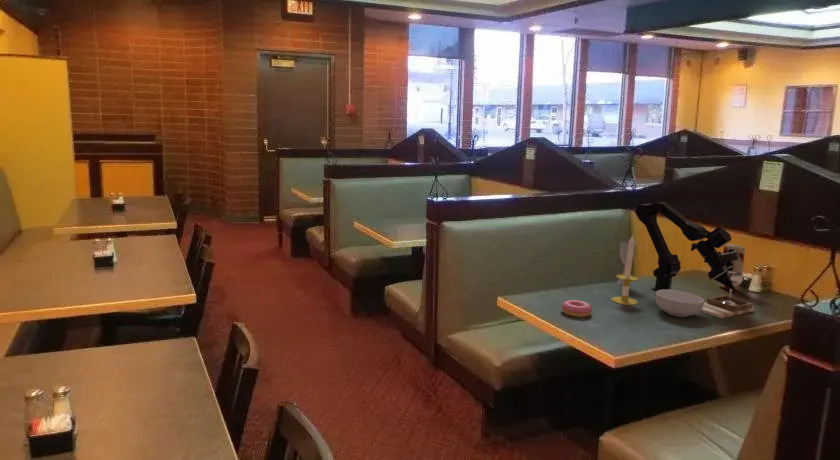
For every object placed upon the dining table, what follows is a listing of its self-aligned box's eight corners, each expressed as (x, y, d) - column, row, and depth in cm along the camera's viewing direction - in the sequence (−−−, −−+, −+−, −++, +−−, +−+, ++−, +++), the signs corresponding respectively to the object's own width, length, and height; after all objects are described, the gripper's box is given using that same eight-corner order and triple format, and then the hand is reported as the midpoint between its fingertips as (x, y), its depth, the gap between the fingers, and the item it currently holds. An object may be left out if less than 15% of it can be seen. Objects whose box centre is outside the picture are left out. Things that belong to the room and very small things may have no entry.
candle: (622, 296, 256) (630, 230, 250) (643, 303, 247) (651, 236, 242) (605, 299, 250) (613, 232, 245) (626, 306, 242) (635, 237, 237)
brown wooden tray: (721, 318, 234) (722, 310, 234) (690, 307, 245) (691, 300, 245) (753, 311, 246) (754, 303, 245) (722, 301, 256) (723, 294, 256)
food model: (713, 286, 279) (720, 242, 275) (722, 285, 282) (729, 241, 279) (735, 292, 271) (742, 247, 267) (743, 291, 274) (750, 246, 271)
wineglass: (737, 306, 243) (742, 276, 241) (718, 302, 246) (723, 272, 244) (739, 302, 249) (744, 272, 246) (720, 298, 252) (725, 269, 250)
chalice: (633, 283, 276) (638, 243, 273) (631, 287, 270) (636, 245, 267) (615, 280, 279) (620, 240, 276) (613, 284, 273) (618, 243, 270)
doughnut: (579, 308, 237) (581, 297, 236) (597, 317, 227) (599, 306, 226) (554, 309, 233) (555, 298, 232) (571, 319, 223) (573, 308, 222)
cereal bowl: (682, 323, 226) (685, 304, 224) (644, 309, 239) (646, 291, 238) (711, 317, 235) (714, 299, 233) (672, 304, 248) (675, 287, 247)
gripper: (722, 246, 238) (749, 280, 234) (732, 239, 253) (758, 272, 248) (696, 262, 244) (722, 296, 240) (708, 254, 259) (733, 286, 254)
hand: (735, 287), depth 245 cm, fingers closed on wineglass, 6 cm apart
